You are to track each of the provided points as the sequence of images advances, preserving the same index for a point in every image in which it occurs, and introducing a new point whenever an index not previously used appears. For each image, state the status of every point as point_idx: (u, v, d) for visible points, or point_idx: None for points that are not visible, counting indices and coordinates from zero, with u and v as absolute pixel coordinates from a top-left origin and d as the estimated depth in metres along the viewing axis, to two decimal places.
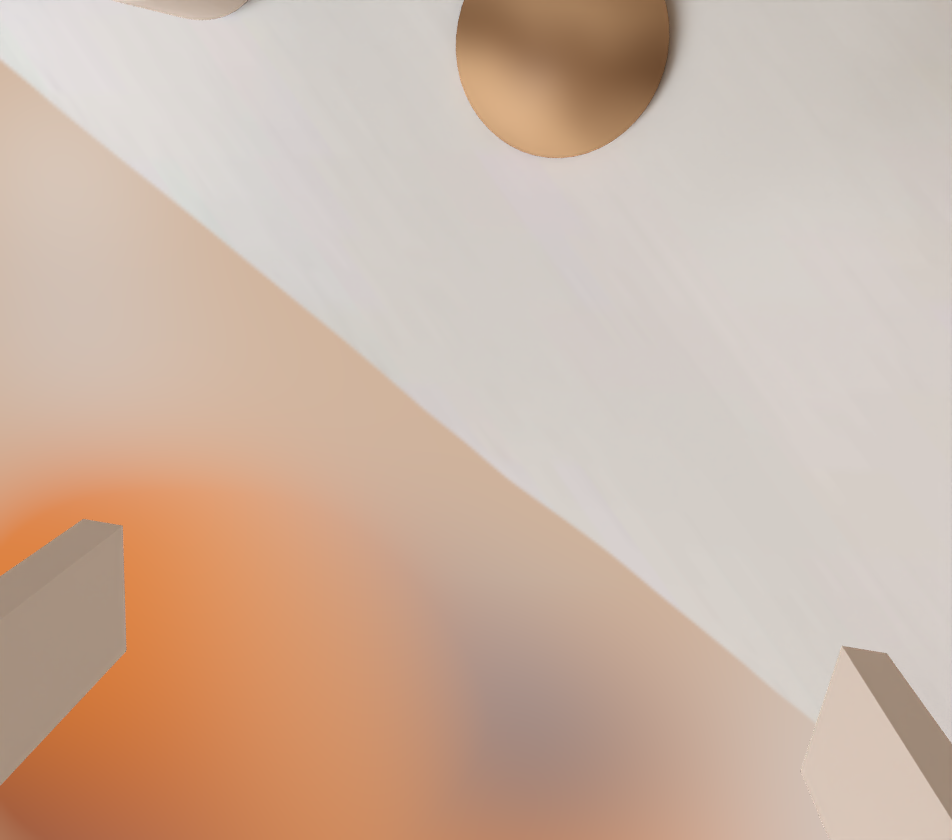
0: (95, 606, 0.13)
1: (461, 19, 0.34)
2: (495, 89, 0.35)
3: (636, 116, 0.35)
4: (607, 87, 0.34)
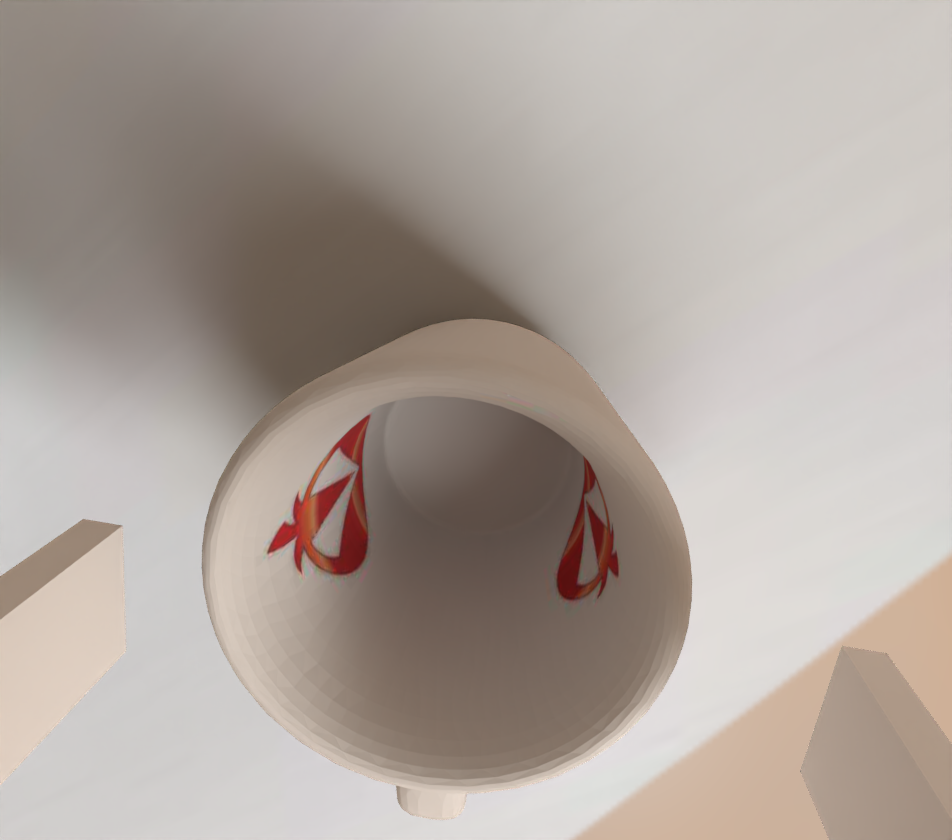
0: (95, 606, 0.13)
1: None
2: None
3: None
4: None
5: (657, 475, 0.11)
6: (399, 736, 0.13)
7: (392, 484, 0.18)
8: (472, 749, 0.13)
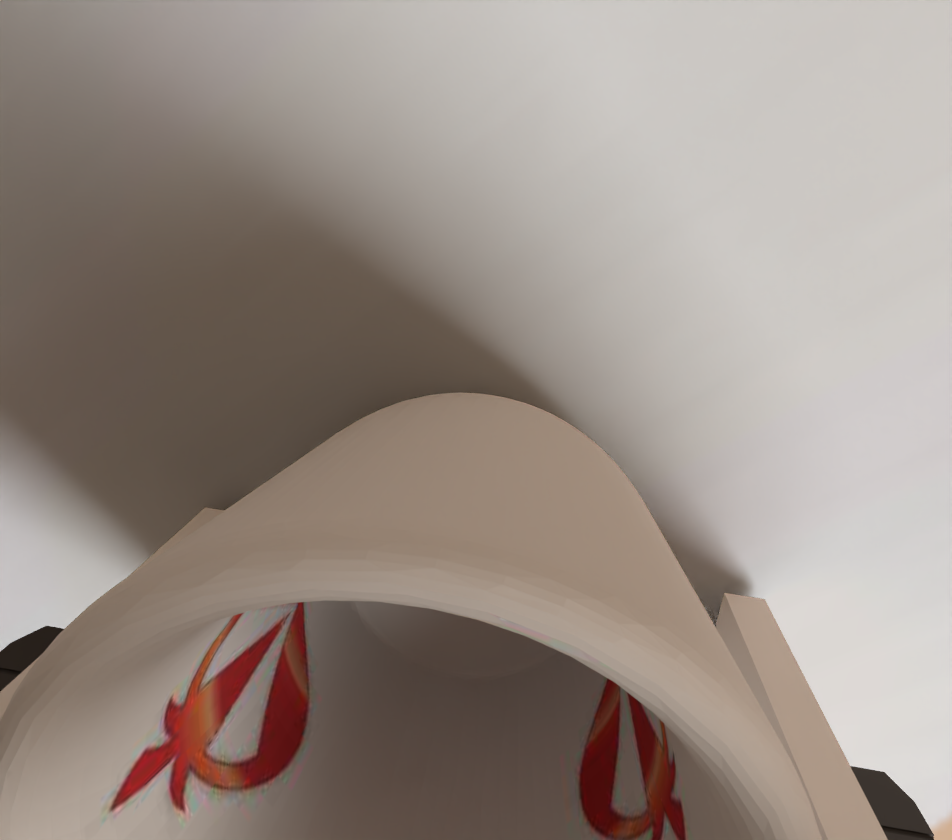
0: None
1: None
2: None
3: None
4: None
5: (780, 755, 0.06)
6: None
7: (352, 609, 0.14)
8: None
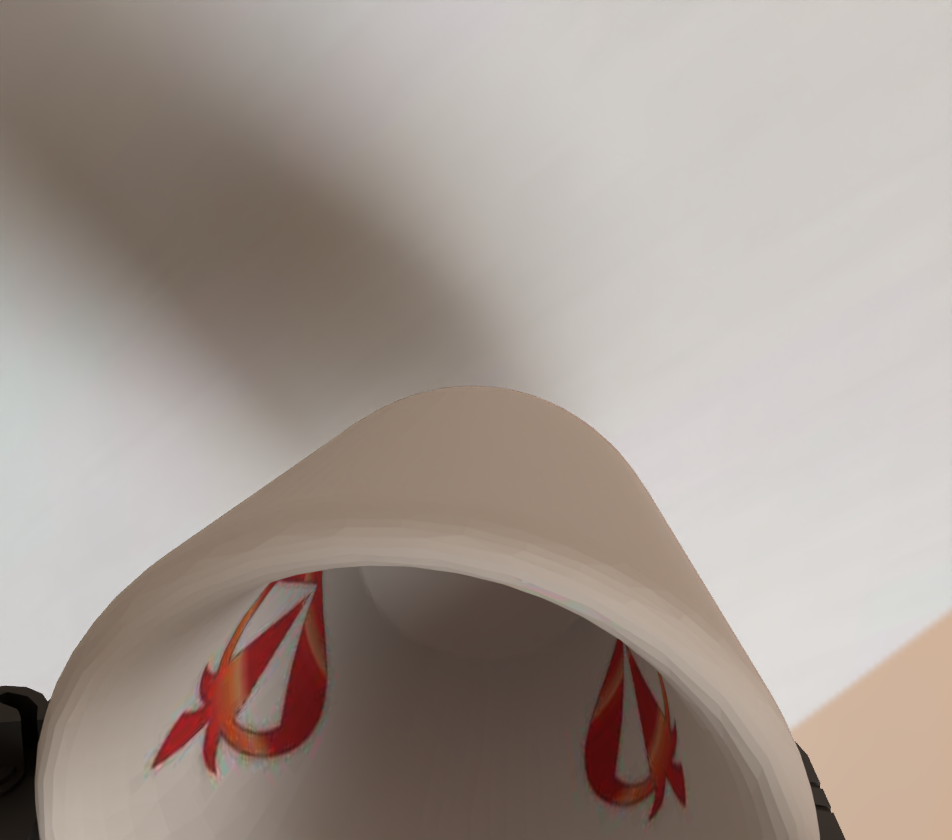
0: None
1: None
2: None
3: None
4: None
5: (773, 709, 0.06)
6: None
7: (366, 594, 0.14)
8: None
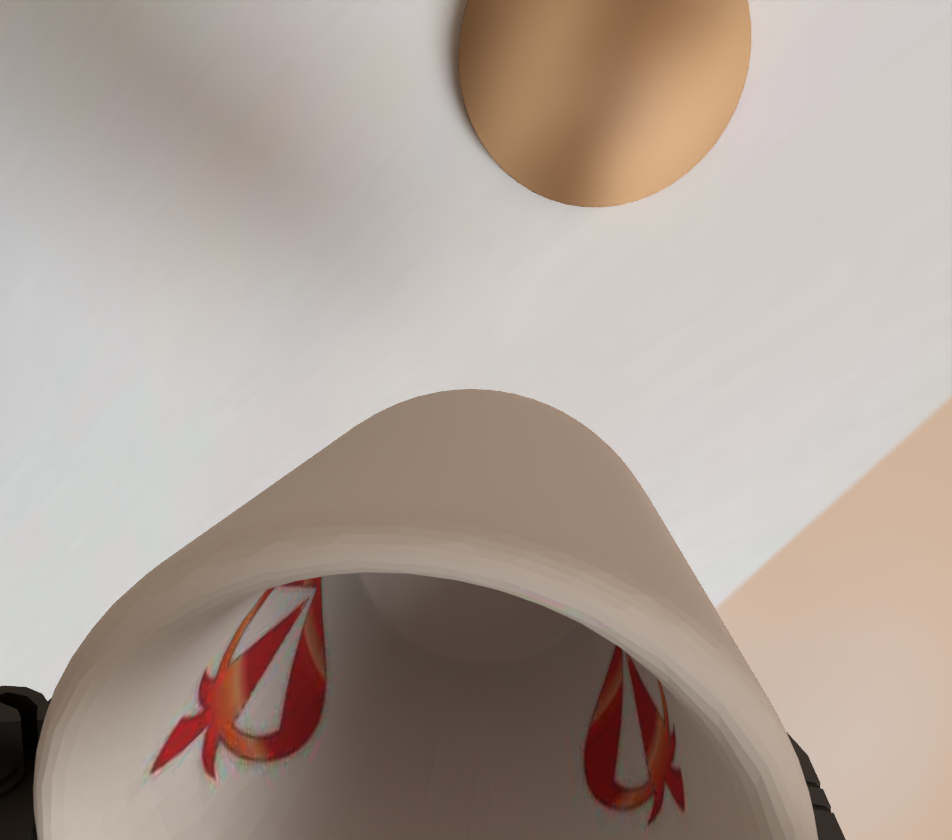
0: None
1: (564, 199, 0.27)
2: (651, 150, 0.26)
3: None
4: None
5: (772, 715, 0.06)
6: None
7: (366, 597, 0.14)
8: None
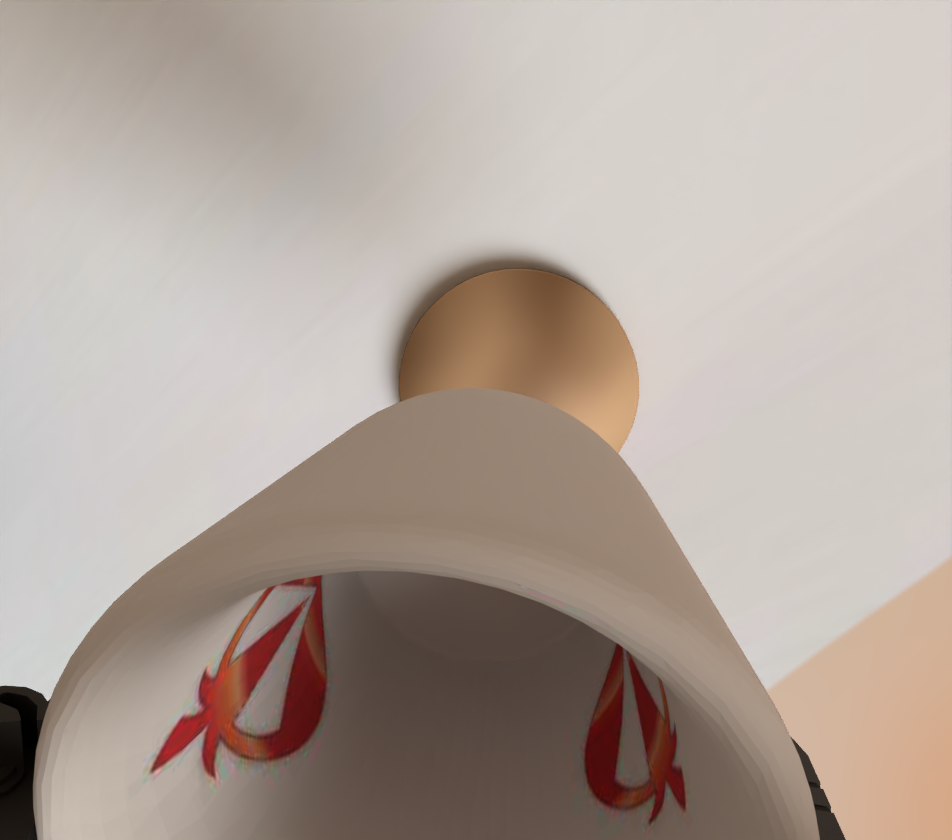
0: None
1: None
2: None
3: (601, 306, 0.29)
4: (566, 340, 0.29)
5: (773, 714, 0.06)
6: None
7: (366, 596, 0.14)
8: None
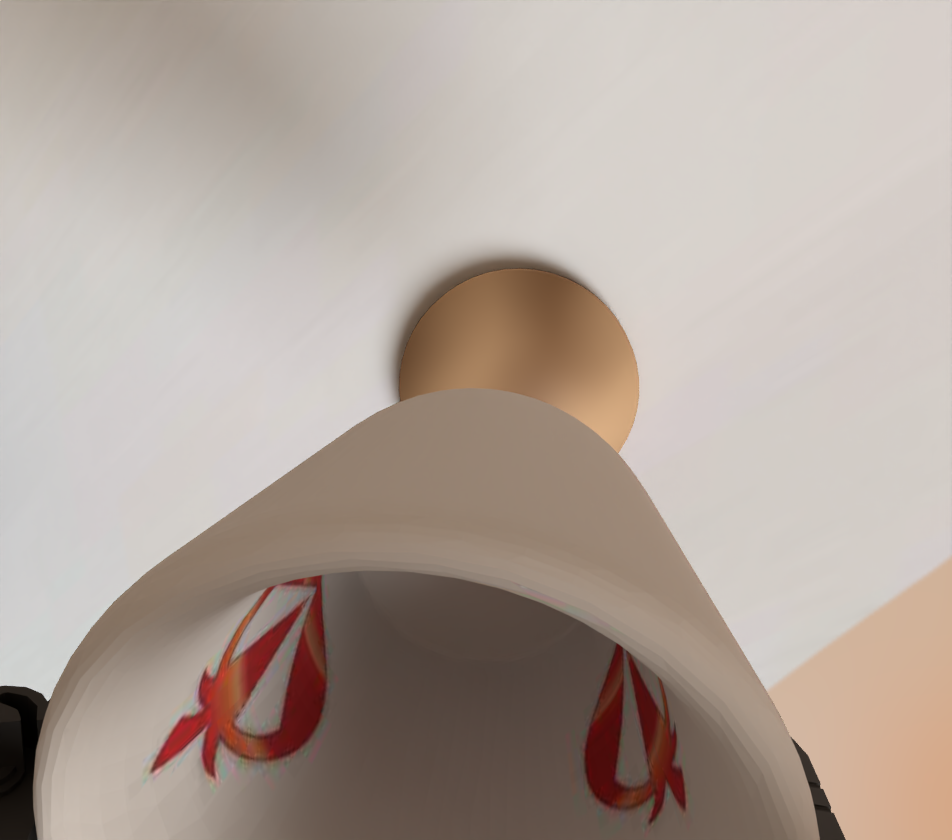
0: None
1: None
2: None
3: (601, 306, 0.29)
4: (566, 340, 0.29)
5: (773, 714, 0.06)
6: None
7: (366, 596, 0.14)
8: None
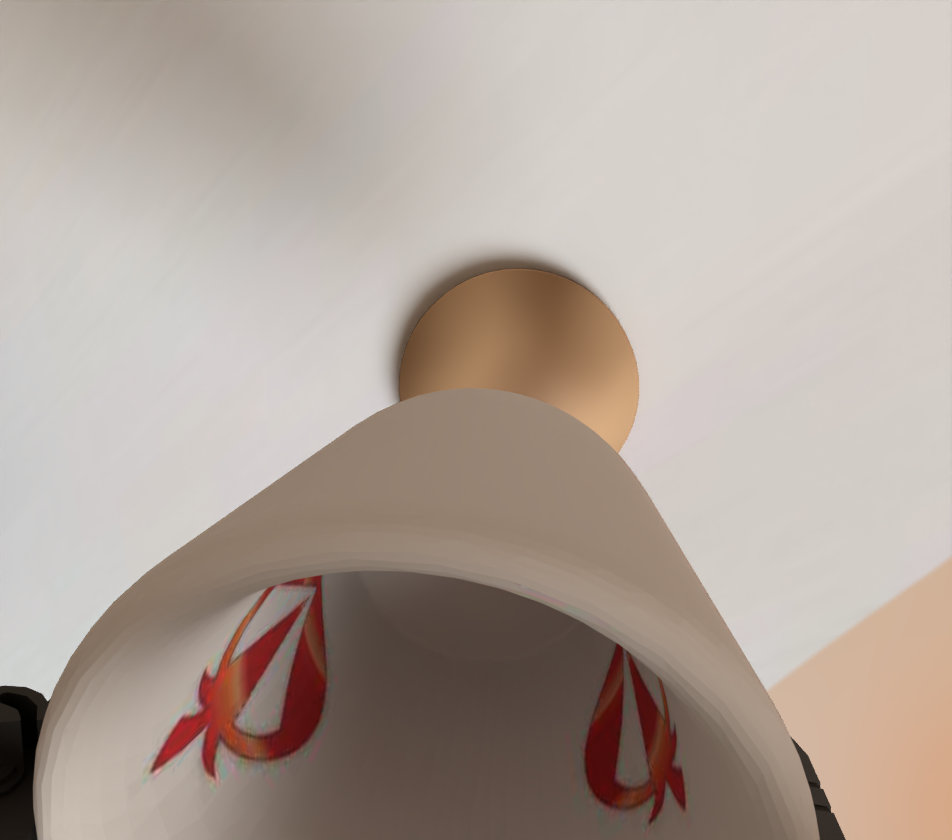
0: None
1: None
2: None
3: (601, 306, 0.29)
4: (566, 340, 0.29)
5: (773, 714, 0.06)
6: None
7: (366, 596, 0.14)
8: None
